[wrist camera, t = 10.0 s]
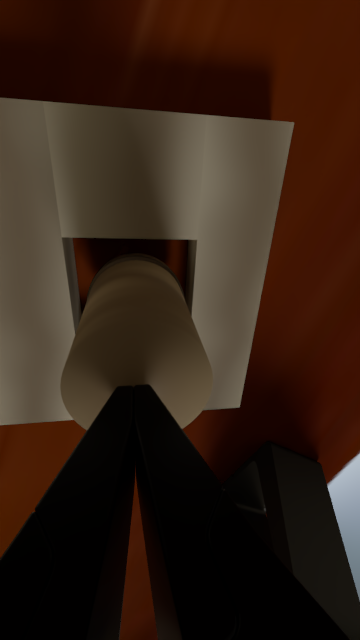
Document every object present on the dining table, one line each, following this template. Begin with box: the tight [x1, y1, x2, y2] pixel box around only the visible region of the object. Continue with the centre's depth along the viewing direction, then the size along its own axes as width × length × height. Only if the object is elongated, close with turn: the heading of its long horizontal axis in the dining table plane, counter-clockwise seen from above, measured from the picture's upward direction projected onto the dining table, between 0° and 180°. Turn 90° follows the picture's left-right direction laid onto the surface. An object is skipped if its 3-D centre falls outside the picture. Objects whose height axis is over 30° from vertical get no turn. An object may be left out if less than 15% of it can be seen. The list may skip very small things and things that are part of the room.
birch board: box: [0, 98, 294, 425], centre depth 13 cm, size 22×14×2 cm, turn 87°
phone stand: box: [222, 442, 360, 640], centre depth 19 cm, size 9×6×12 cm, turn 145°
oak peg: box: [60, 253, 213, 430], centre depth 11 cm, size 4×4×8 cm
